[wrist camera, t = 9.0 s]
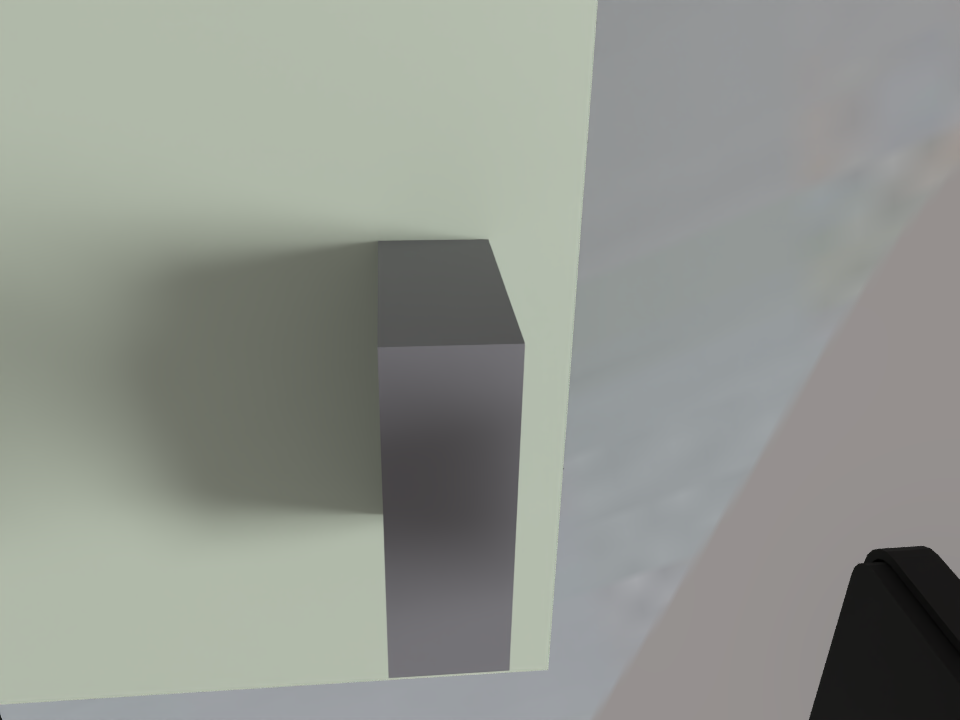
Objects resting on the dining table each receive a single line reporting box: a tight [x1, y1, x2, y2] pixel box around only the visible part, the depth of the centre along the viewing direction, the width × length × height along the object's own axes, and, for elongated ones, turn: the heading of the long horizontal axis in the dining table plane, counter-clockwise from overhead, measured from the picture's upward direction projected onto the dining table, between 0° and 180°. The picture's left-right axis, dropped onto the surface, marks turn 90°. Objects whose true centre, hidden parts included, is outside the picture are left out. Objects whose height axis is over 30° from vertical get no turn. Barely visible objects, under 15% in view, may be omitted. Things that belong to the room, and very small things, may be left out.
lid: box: [0, 0, 598, 705], centre depth 15 cm, size 15×15×6 cm
